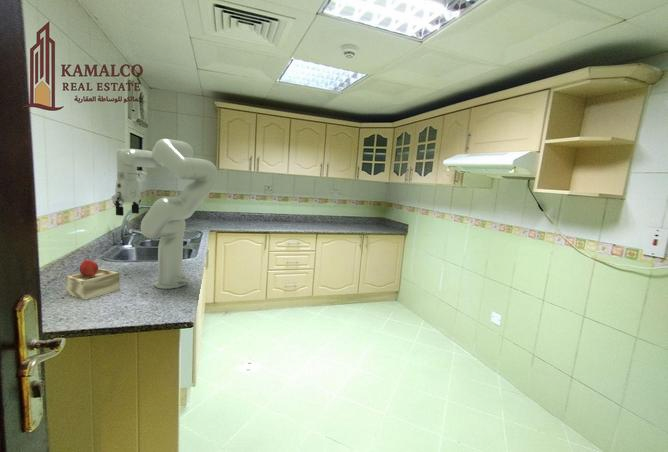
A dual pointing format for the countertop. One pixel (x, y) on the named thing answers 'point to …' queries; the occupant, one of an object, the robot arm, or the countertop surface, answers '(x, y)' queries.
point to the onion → (88, 268)
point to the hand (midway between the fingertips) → (127, 214)
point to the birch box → (92, 284)
